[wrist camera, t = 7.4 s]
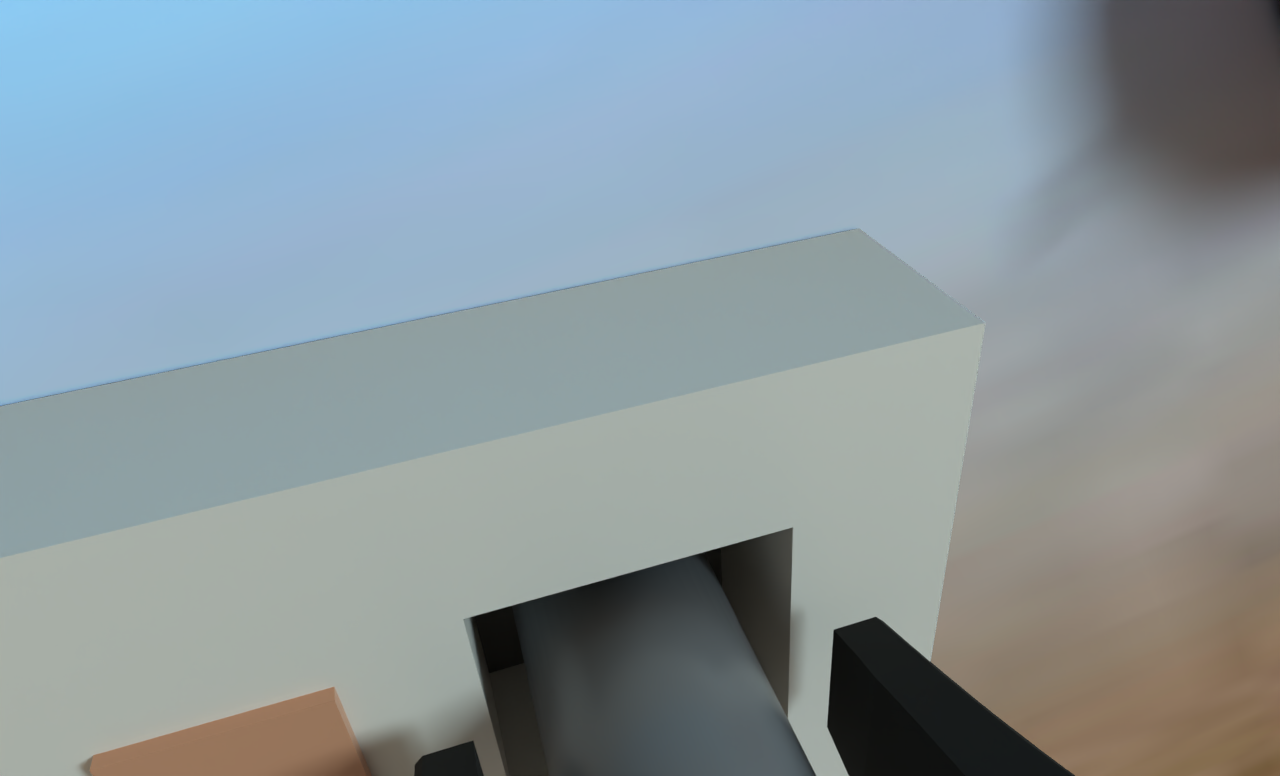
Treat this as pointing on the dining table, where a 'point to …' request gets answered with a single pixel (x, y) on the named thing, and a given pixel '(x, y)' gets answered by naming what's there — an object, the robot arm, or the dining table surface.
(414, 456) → the socket block
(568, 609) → the plug
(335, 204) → the dining table surface
